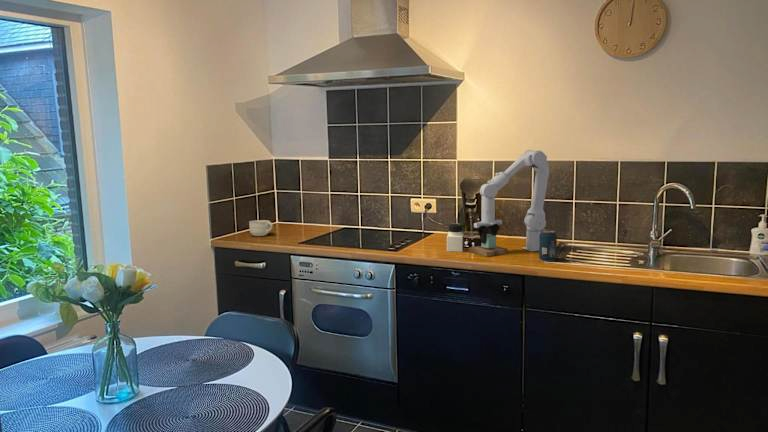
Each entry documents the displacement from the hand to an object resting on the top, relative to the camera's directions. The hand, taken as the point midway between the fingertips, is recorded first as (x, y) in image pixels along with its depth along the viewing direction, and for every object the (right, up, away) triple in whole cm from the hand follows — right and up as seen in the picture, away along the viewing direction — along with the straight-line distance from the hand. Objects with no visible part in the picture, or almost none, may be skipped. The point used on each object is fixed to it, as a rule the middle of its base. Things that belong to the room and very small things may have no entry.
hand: (487, 242), depth 263 cm
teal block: (0, -2, 0) cm, 2 cm away
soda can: (+22, -7, -15) cm, 28 cm away
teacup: (-110, +1, +53) cm, 122 cm away
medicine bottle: (-13, -4, +7) cm, 16 cm away
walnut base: (0, -5, +1) cm, 5 cm away
